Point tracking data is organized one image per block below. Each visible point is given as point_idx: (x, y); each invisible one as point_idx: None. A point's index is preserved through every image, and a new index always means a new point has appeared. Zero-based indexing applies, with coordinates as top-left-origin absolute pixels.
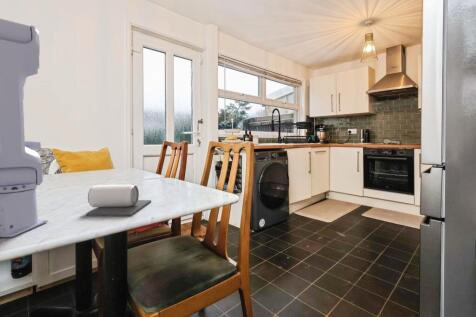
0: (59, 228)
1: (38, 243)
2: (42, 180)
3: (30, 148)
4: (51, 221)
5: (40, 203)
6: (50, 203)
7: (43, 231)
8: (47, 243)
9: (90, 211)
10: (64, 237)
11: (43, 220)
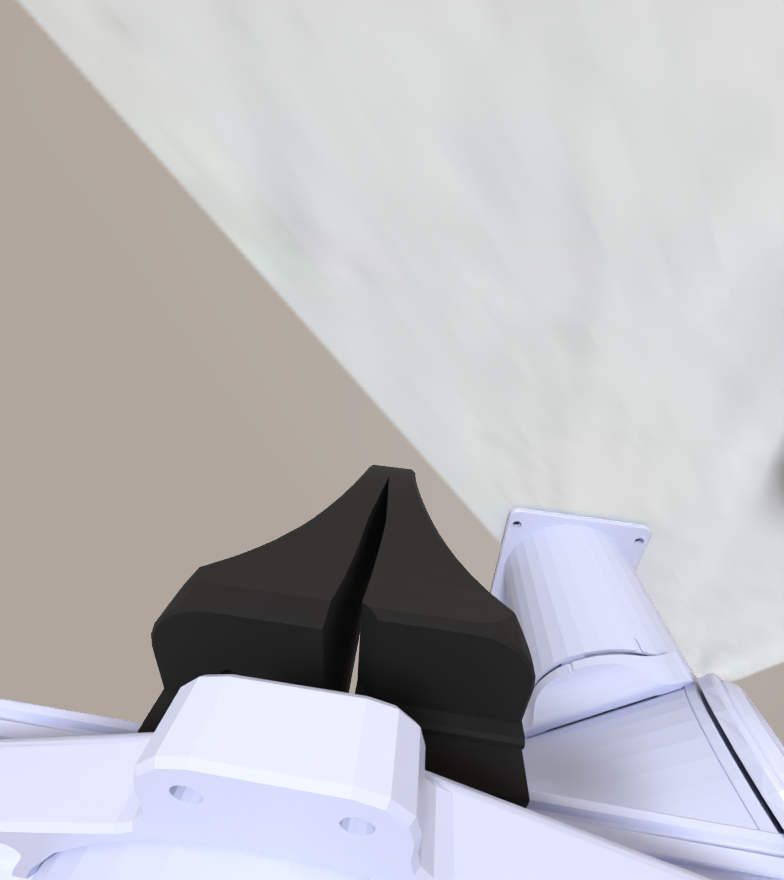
0: (722, 586)
1: (702, 673)
2: (781, 744)
3: (719, 861)
4: (656, 515)
5: (402, 175)
6: (473, 177)
7: (674, 602)
8: (729, 677)
9: None
10: (767, 652)
11: (635, 535)
